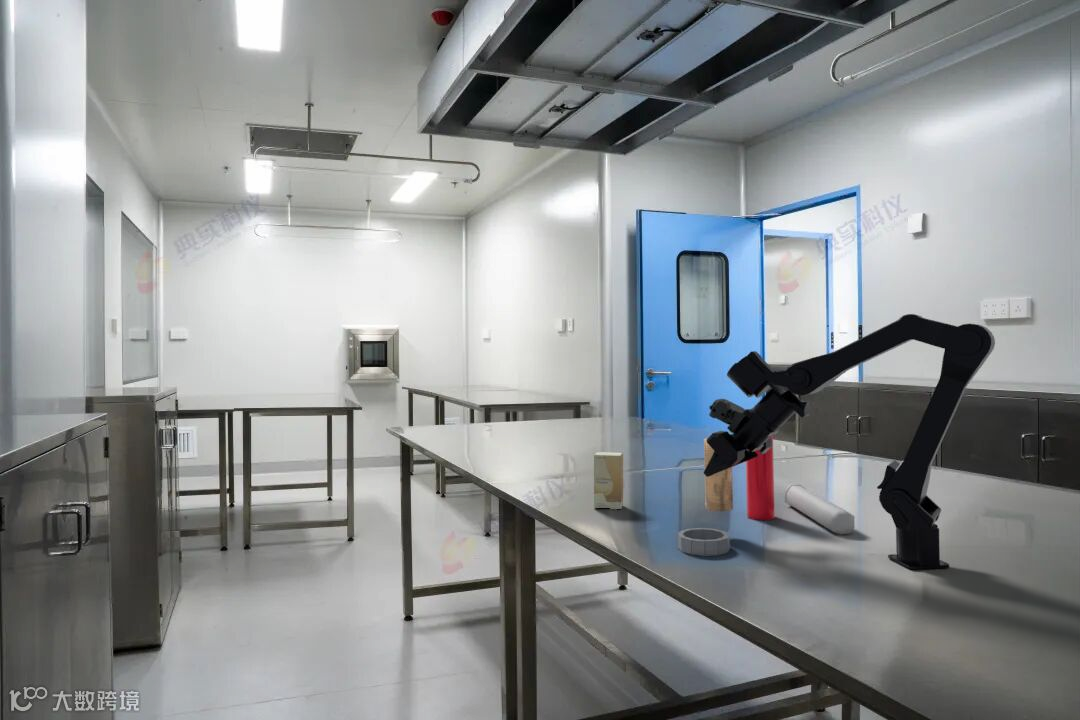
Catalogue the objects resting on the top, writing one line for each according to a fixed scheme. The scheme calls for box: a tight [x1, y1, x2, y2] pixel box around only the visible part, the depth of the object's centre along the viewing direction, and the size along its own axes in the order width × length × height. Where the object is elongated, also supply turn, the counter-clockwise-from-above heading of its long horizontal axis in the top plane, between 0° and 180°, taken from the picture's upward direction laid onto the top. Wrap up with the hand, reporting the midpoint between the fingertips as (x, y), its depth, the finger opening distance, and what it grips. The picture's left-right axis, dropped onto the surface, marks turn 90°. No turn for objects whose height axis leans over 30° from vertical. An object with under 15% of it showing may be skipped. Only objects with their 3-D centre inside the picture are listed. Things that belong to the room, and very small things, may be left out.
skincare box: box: [593, 451, 624, 510], centre depth 157 cm, size 6×4×12 cm
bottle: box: [745, 435, 776, 521], centre depth 145 cm, size 5×5×20 cm
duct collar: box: [677, 527, 731, 557], centre depth 123 cm, size 9×9×2 cm
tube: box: [783, 483, 856, 536], centre depth 141 cm, size 5×5×25 cm
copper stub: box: [703, 437, 734, 512], centre depth 132 cm, size 5×5×13 cm
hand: (711, 472), depth 132 cm, fingers closed on copper stub, 5 cm apart
